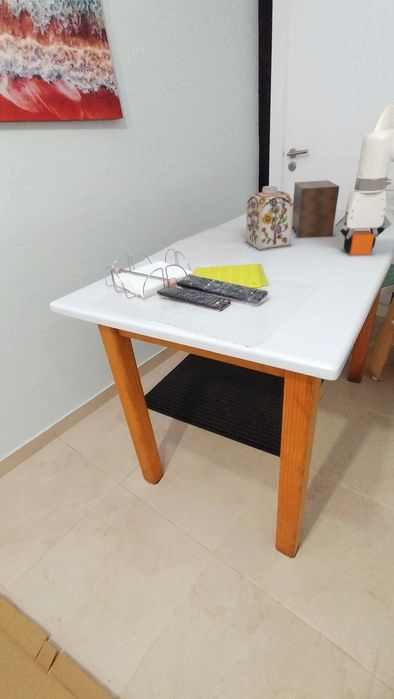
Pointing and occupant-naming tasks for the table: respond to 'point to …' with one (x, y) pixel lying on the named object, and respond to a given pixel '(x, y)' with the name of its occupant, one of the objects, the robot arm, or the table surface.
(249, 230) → the decorative jar
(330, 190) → the wooden grain block
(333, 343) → the table surface
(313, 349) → the table surface
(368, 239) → the cube
